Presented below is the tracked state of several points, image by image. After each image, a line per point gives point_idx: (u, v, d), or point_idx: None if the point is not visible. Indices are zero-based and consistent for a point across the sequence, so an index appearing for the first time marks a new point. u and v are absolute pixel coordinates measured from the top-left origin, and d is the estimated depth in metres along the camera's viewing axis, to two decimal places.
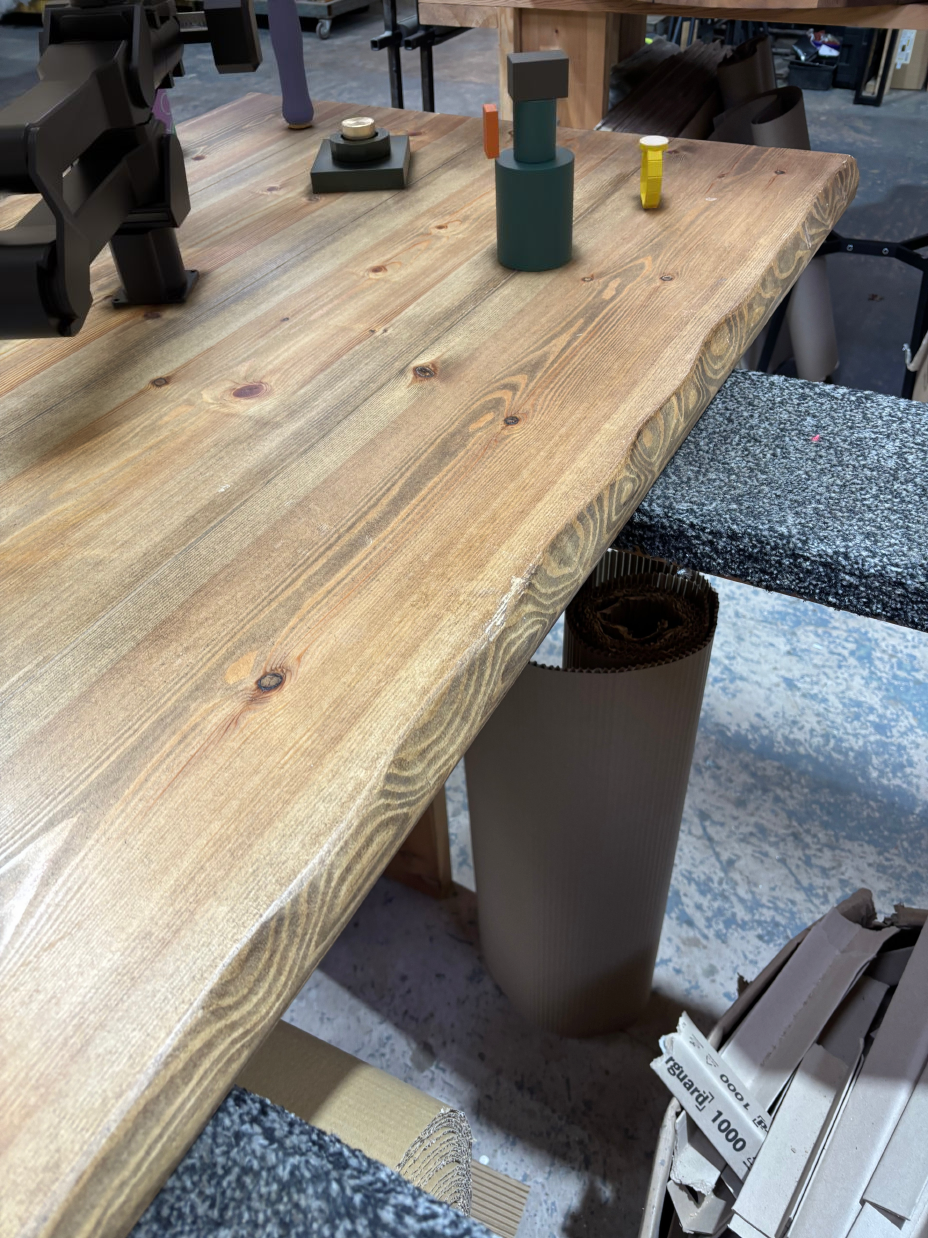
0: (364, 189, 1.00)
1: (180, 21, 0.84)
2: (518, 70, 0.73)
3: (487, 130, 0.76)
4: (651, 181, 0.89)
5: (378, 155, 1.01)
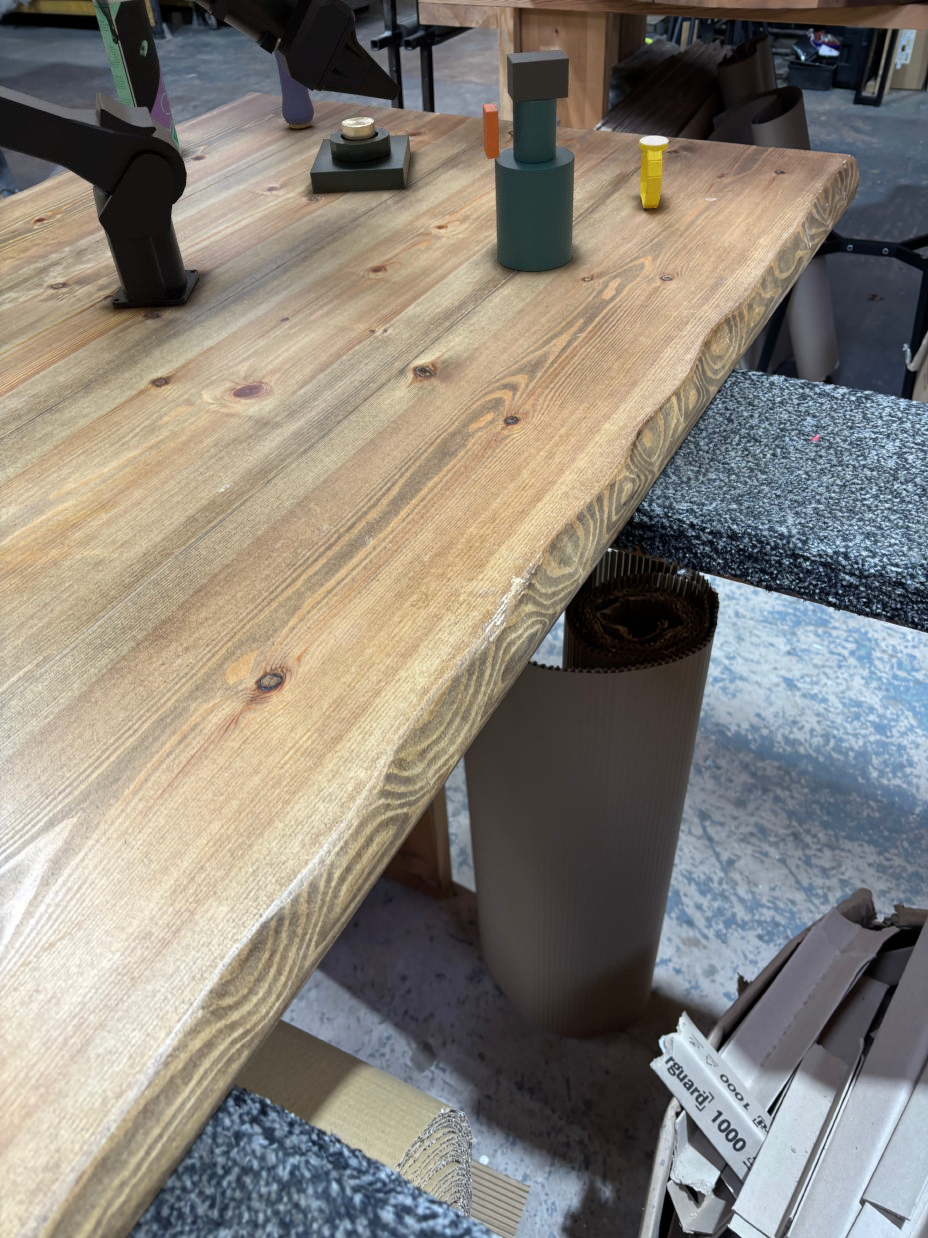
0: (364, 189, 1.00)
1: None
2: (518, 70, 0.73)
3: (487, 130, 0.76)
4: (651, 181, 0.89)
5: (378, 155, 1.01)
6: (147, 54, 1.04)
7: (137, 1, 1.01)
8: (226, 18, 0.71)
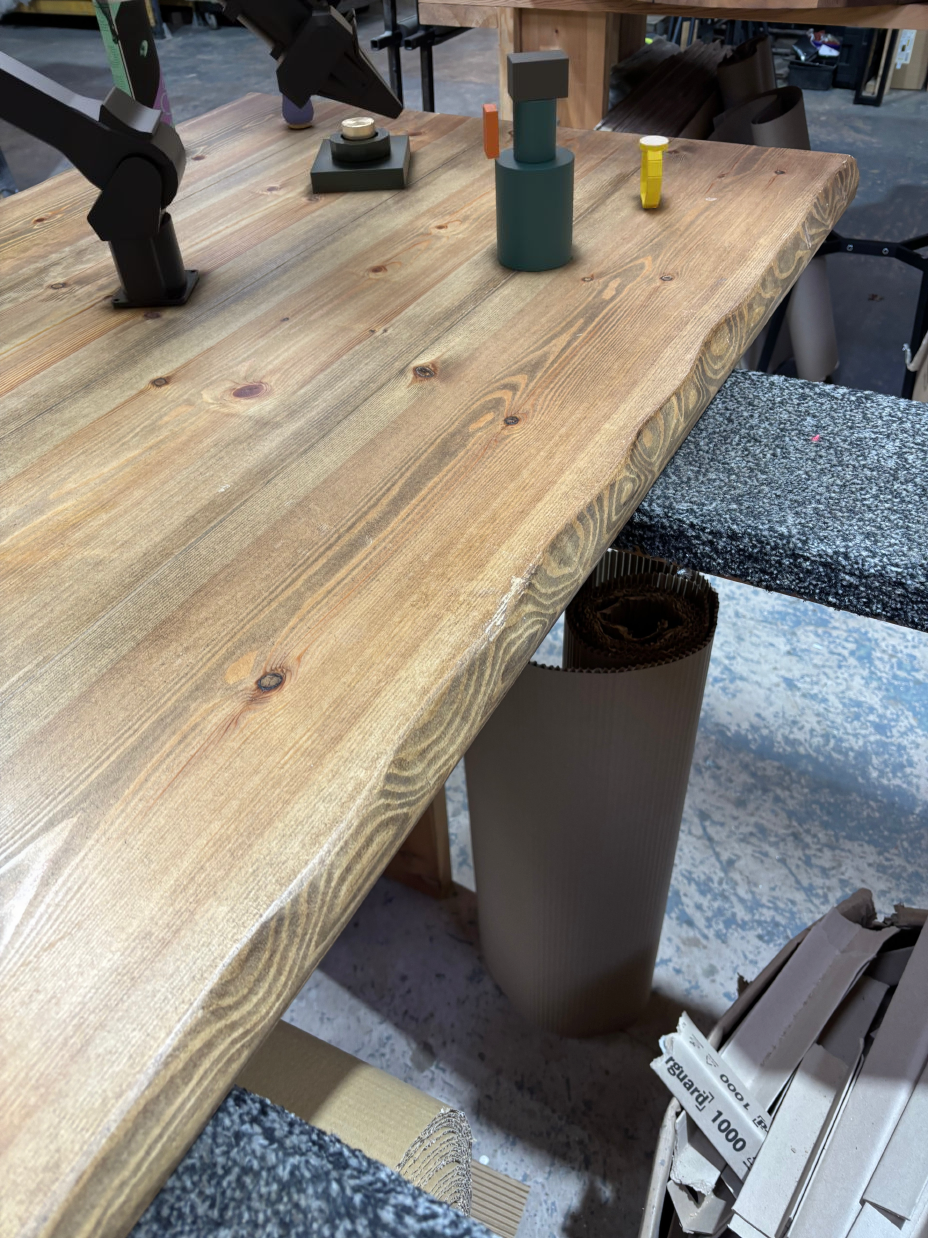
0: (364, 189, 1.00)
1: None
2: (518, 70, 0.73)
3: (487, 130, 0.76)
4: (651, 181, 0.89)
5: (378, 155, 1.01)
6: (147, 54, 1.04)
7: (137, 1, 1.01)
8: (240, 19, 0.69)
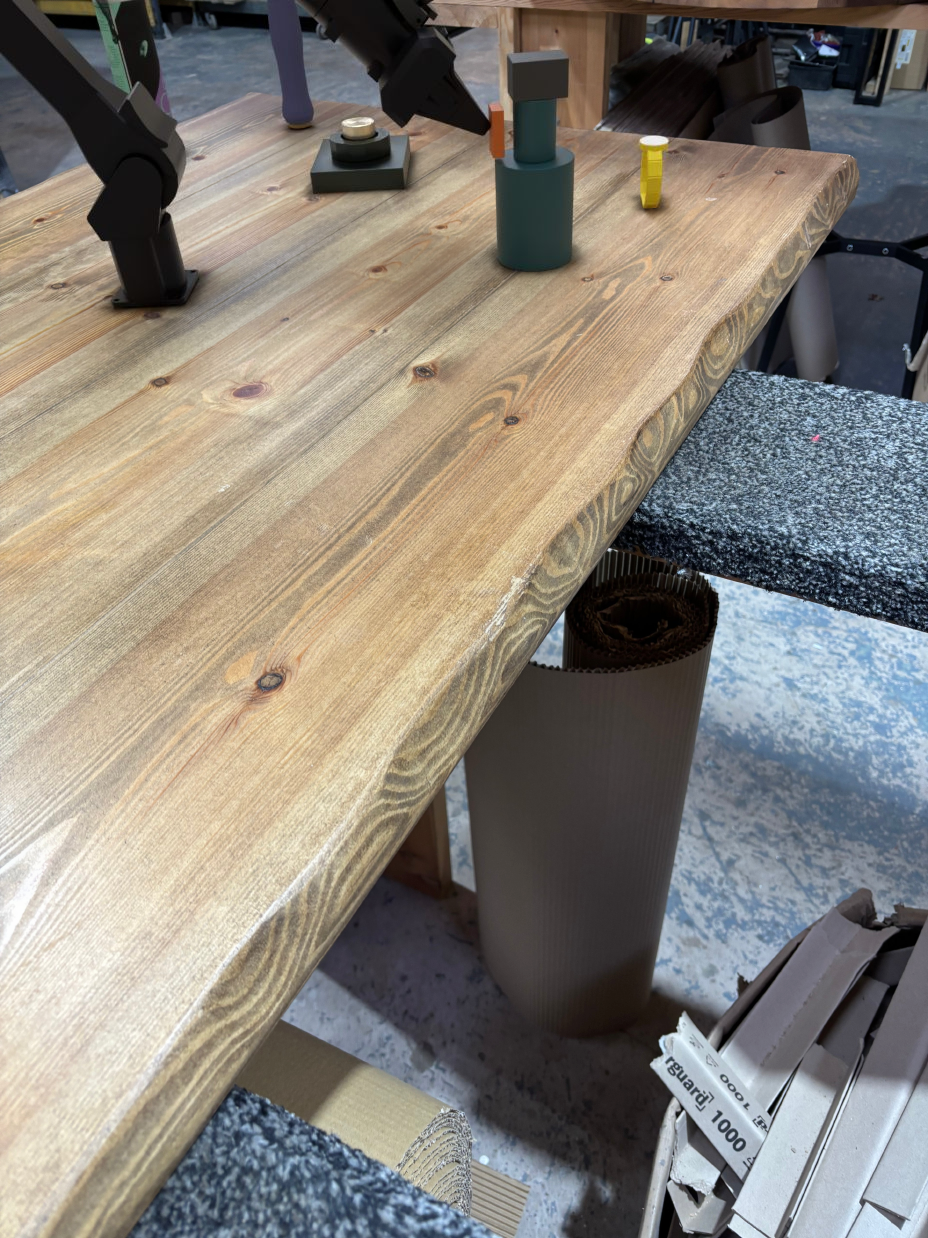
0: (364, 189, 1.00)
1: None
2: (518, 70, 0.73)
3: (493, 130, 0.76)
4: (651, 181, 0.89)
5: (378, 155, 1.01)
6: (147, 54, 1.04)
7: (137, 1, 1.01)
8: (340, 39, 0.71)
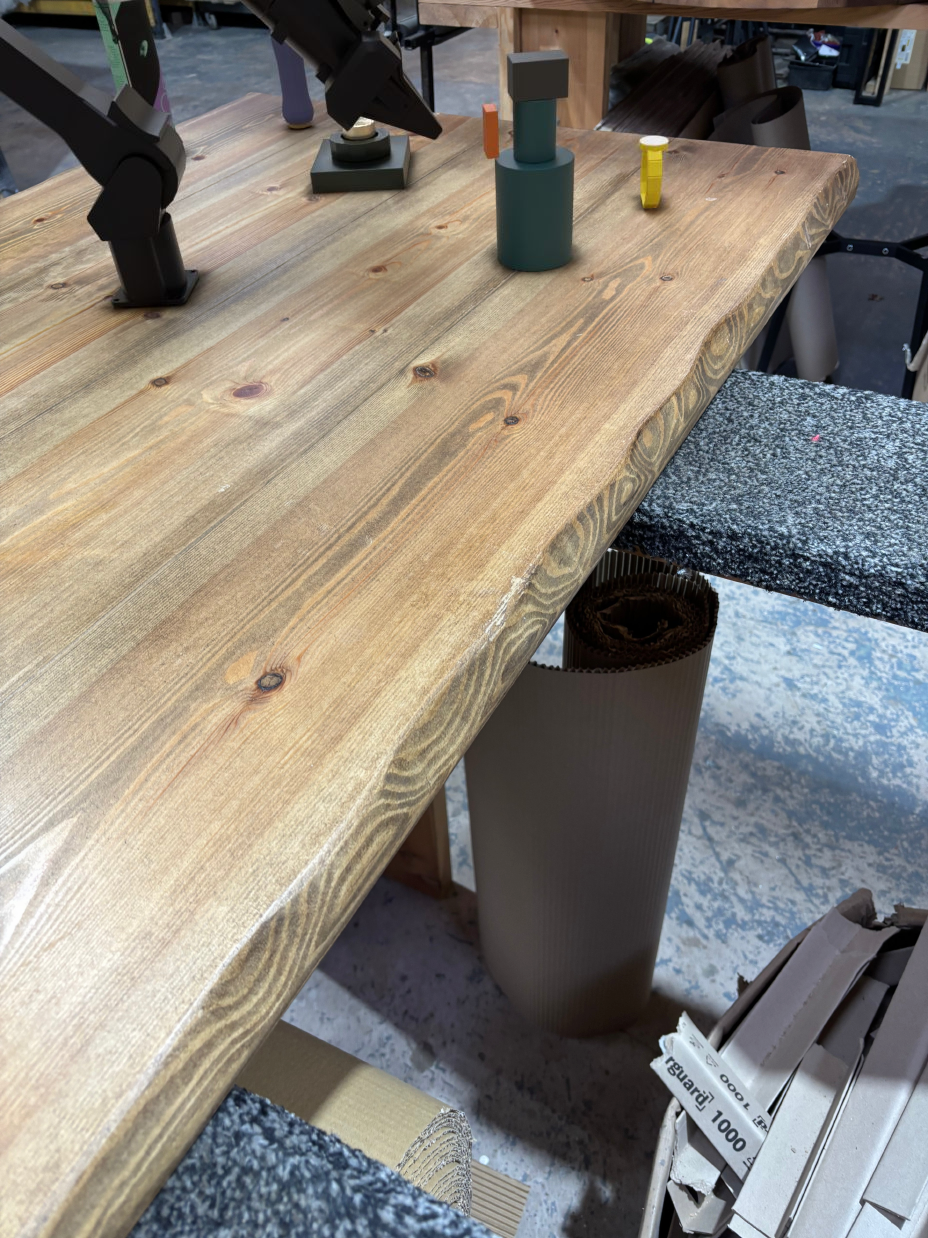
0: (364, 189, 1.00)
1: None
2: (518, 70, 0.73)
3: (487, 130, 0.76)
4: (651, 181, 0.89)
5: (378, 155, 1.01)
6: (147, 54, 1.04)
7: (137, 1, 1.01)
8: (287, 42, 0.71)
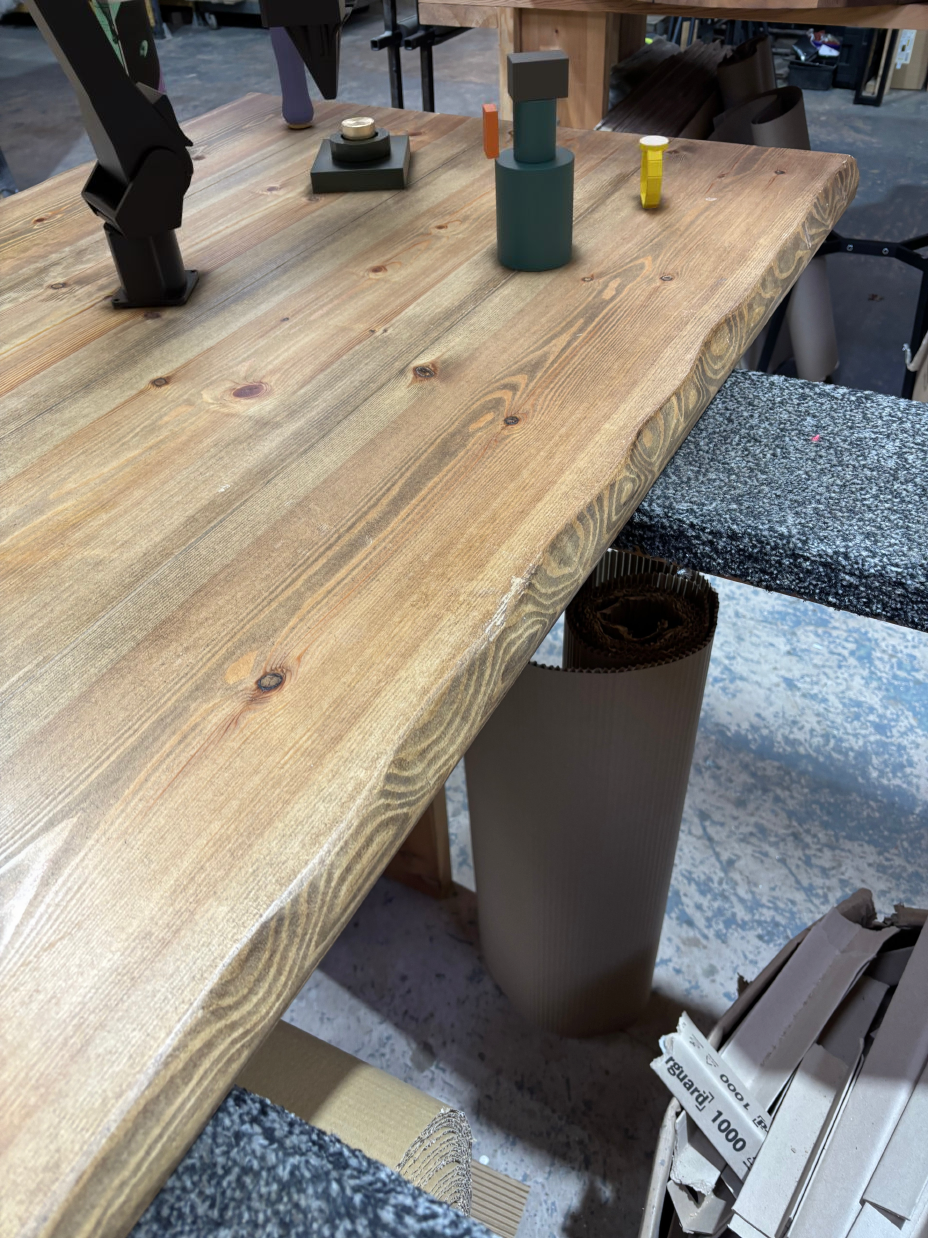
0: (364, 189, 1.00)
1: None
2: (518, 70, 0.73)
3: (487, 130, 0.76)
4: (651, 181, 0.89)
5: (378, 155, 1.01)
6: (147, 54, 1.04)
7: (137, 1, 1.01)
8: None
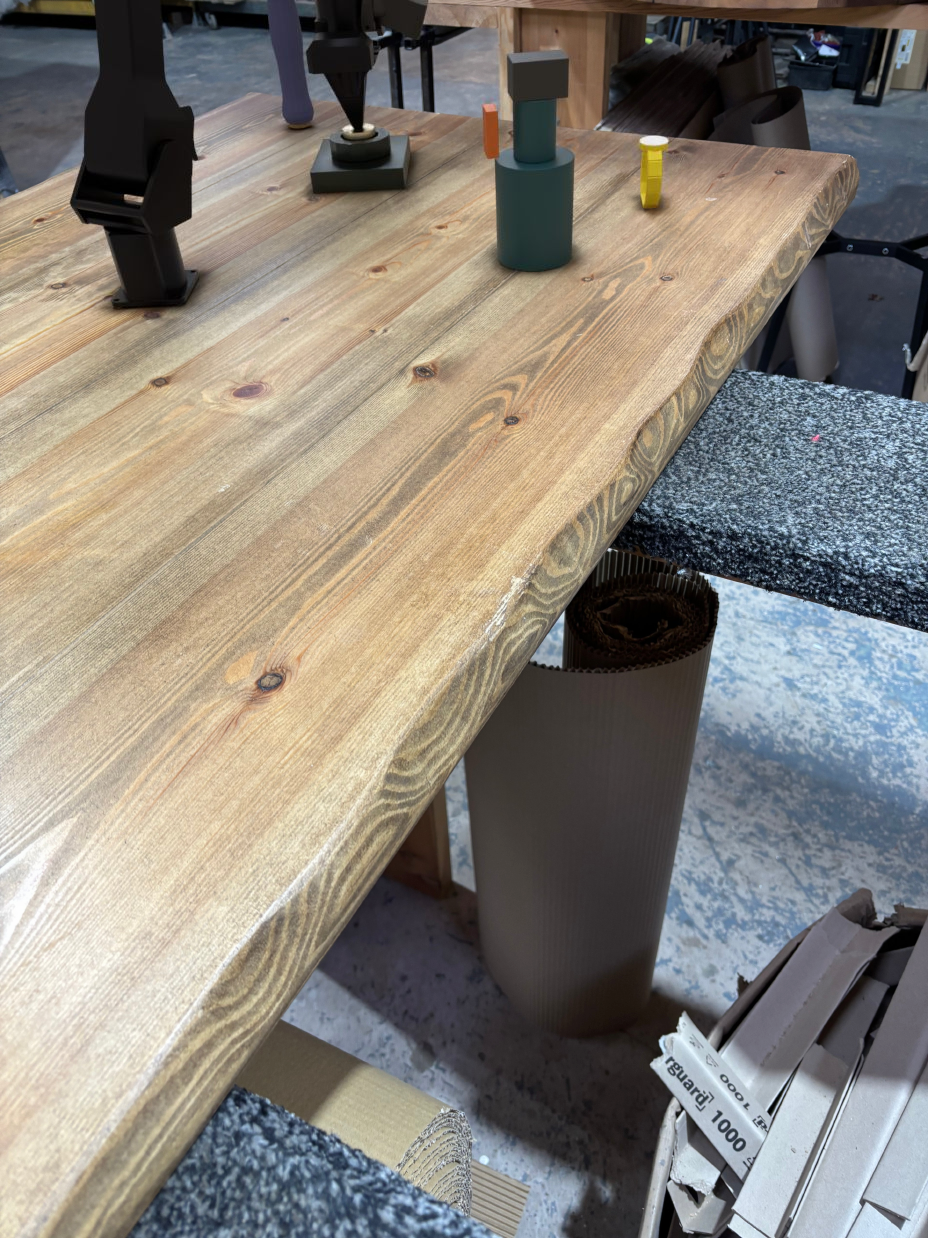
0: (364, 189, 1.00)
1: None
2: (518, 70, 0.73)
3: (487, 130, 0.76)
4: (651, 181, 0.89)
5: (378, 155, 1.01)
6: None
7: None
8: None
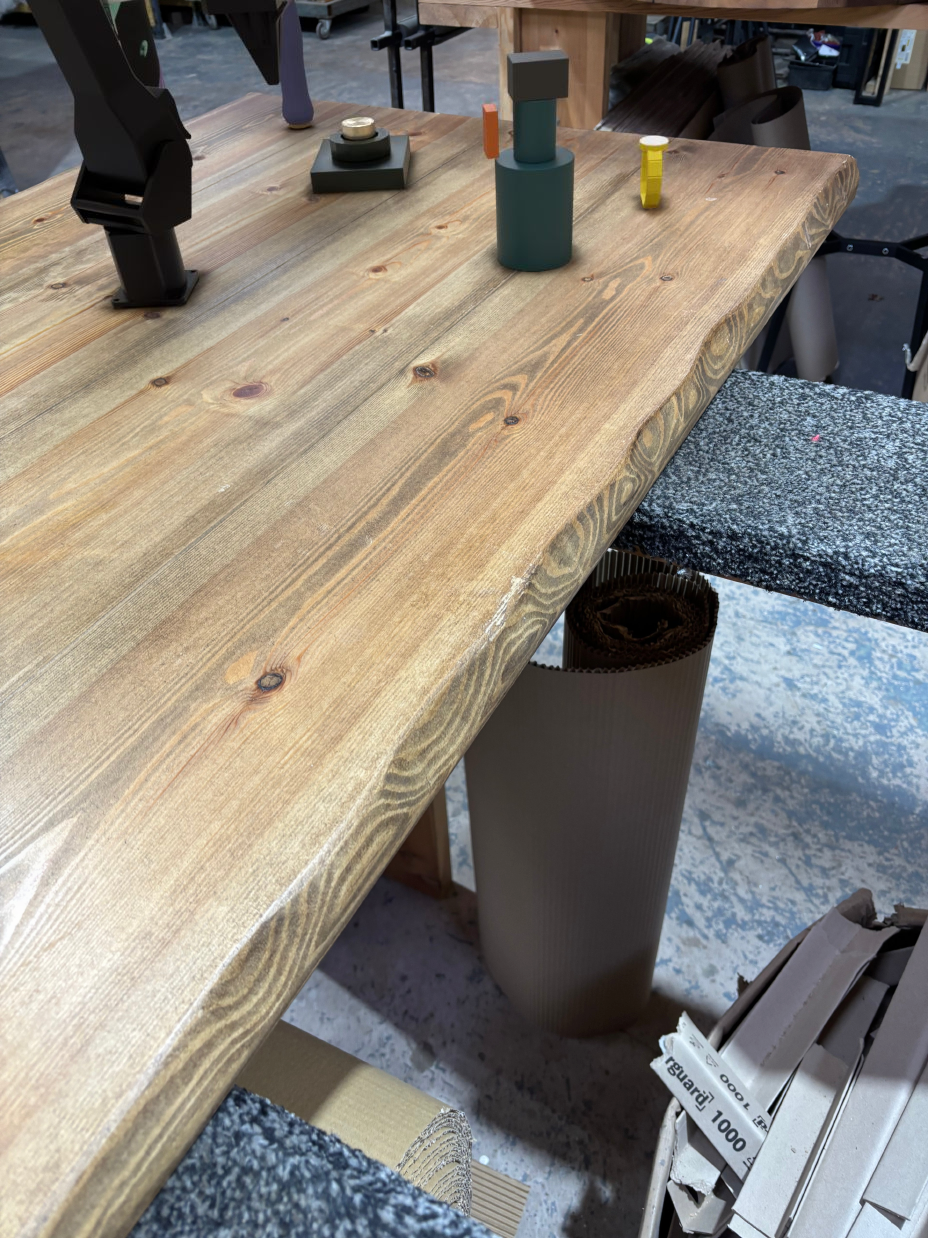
0: (364, 189, 1.00)
1: None
2: (518, 70, 0.73)
3: (487, 130, 0.76)
4: (651, 181, 0.89)
5: (378, 155, 1.01)
6: (147, 54, 1.04)
7: (137, 1, 1.01)
8: None
